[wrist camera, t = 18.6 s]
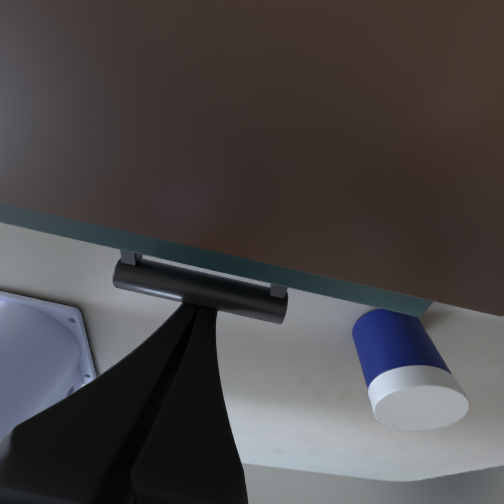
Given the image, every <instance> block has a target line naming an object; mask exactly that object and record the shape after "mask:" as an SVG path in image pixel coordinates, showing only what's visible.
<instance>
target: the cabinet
mask: <svg viewBox="0 0 504 504" xmlns="http://www.w3.org/2000/svg"><path fill="white" fill-rule="evenodd" d="M0 203H3V204H8V205H12V206H16V207H21V208H25V209H30V210H34V211H38V212H43V213H47V214H52V215H56V216H60V217H65V218H69V219H74V220H78V221H82V222H87V223H91V224H96V225H100V226H105V227H109V228H113V229H118V230H122V231H127V232H131V233H135V234H140V235H144V236H149V237H153V238H157V239H162V240H166V241H171V242H175V243H179V244H184V245H188V246H193V247H197V248H201V249H206V250H210V251H215V252H219V253H223V254H228V255H232V256H237V257H241V258H245V259H250V260H254V261H259V262H263V263H267V264H272V265H276V266H281V267H285V268H289V269H294V270H298V271H303V272H307V273H311V274H316V275H320V276H325V277H329V278H333V279H338V280H342V281H347V282H351V283H355V284H360V285H364V286H369V287H373V288H377V289H382V290H386V291H391V292H395V293H399V294H404V295H408V296H413V297H417V298H421V299H426V300H430V301H435V302H439V303H444V304H448V305H452V306H457V307H461V308H466V309H470V310H474V311H479V312H483V313H488V314H492V315H496V316H504V0H0Z"/></svg>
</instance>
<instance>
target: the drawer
mask: <svg viewBox="0 0 504 504" xmlns="http://www.w3.org/2000/svg"><path fill="white" fill-rule="evenodd" d="M0 222H1V223H5V224H10V225H14V226H19V227H23V228H28V229H32V230H36V231H41V232H45V233H50V234H54V235H59V236H63V237H67V238H72V239H76V240H81V241H85V242H90V243H94V244H98V245H103V246H107V247H112V248H116V249H120V252H121V258H120V259H119V261H118V262H117V264H116V266H115V269H114V272H113V285H114V286H115V287H116V288H119V289H124V290H128V291H133V292H137V293H142V294H146V295H151V296H155V297H160V298H164V299H169V300H173V301H178V302H182V303H187V304H191V305H196V306H200V307H205V308H209V309H214V310H218V311H223V312H227V313H232V314H236V315H240V316H245V317H249V318H254V319H258V320H263V321H267V322H272V323H276V324H282V322H283V320H284V318H285V314H286V310H287V305H288V293H287V288H288V287H289V288H293V289H298V290H302V291H307V292H311V293H315V294H320V295H324V296H329V297H333V298H338V299H342V300H346V301H351V302H355V303H360V304H364V305H369V306H373V307H377V308H382V309H386V310H391V311H395V312H400V313H404V314H408V315H413V316H417V317H421V316H422V315H423V314H424V312H425V311H426V310H427V309H428V307H429V306H430V305H431V304H432V303H433V301H430V300H426V299H421V298H417V297H413V296H408V295H404V294H399V293H395V292H391V291H386V290H382V289H377V288H373V287H369V286H364V285H360V284H355V283H351V282H347V281H342V280H338V279H333V278H329V277H325V276H320V275H316V274H311V273H307V272H303V271H298V270H294V269H289V268H285V267H281V266H276V265H272V264H267V263H263V262H259V261H254V260H250V259H245V258H241V257H237V256H232V255H228V254H223V253H219V252H215V251H210V250H206V249H201V248H197V247H193V246H188V245H184V244H179V243H175V242H171V241H166V240H162V239H157V238H153V237H149V236H144V235H140V234H135V233H131V232H127V231H122V230H118V229H113V228H109V227H105V226H100V225H96V224H91V223H87V222H82V221H78V220H74V219H69V218H65V217H60V216H56V215H52V214H47V213H43V212H38V211H34V210H30V209H25V208H21V207H16V206H12V205H8V204H3V203H0ZM142 254H143V255H147V256H152V257H156V258H160V259H165V260H169V261H174V262H178V263H183V264H187V265H191V266H196V267H200V268H205V269H209V270H214V271H218V272H222V273H227V274H231V275H236V276H240V277H245V278H249V279H253V280H258V281H262V282H267V283H271V285H270V287H265V286H261V285H256V284H252V283H248V282H243V281H239V280H234V279H230V278H225V277H221V276H217V275H212V274H208V273H203V272H199V271H194V270H190V269H186V268H181V267H177V266H172V265H168V264H163V263H159V262H155V261H150V260H146V259H142Z"/></svg>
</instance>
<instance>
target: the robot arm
mask: <svg viewBox="0 0 504 504" xmlns="http://www.w3.org/2000/svg"><path fill="white" fill-rule="evenodd" d="M217 312H218V310H214V309H209V308H205V307H200V306H196V305H191V304H187V303H182V304H181V305H180V306H179V308H178V309H177V310H176V311H175V312H174V313H173V314H172V315H171V316H170V317H169V318H168V319H167V320H166V321H165V322H164V323H163V324H162V325H161V326H160V327H159V328H158V329H157V330H156V331H155V332H154V333H153V334H152V335H151V336H149V337H148V338H147V339H146V340H145V341H144V342H143V343H142V344H141V345H139V346H138V347H137V348H136V349H135V350H133V351H132V352H131V353H130V354H128V355H127V356H126V357H124V358H123V359H122V360H121V361H119V362H118V363H117V364H115V365H114V366H112V367H111V368H110V369H108V370H107V371H106V372H104V373H103V374H101V375H100V376H98V377H96V373H95V368H94V364H93V360H92V356H91V352H90V348H89V344H88V340H87V335H86V331H85V327H84V323H83V319H82V315H81V312H80V311H79V310H78V309H77V308H75V307H71V306H66V305H62V304H57V303H53V302H48V301H44V300H39V299H35V298H30V297H26V296H21V295H17V294H12V293H7V292H3V291H0V504H248V497H247V490H246V483H245V476H244V470H243V467H242V464H241V461H240V458H239V454H238V451H237V448H236V444H235V441H234V438H233V434H232V430H231V427H230V423H229V419H228V414H227V410H226V406H225V402H224V397H223V392H222V387H221V381H220V375H219V368H218V360H217V349H216V318H217ZM83 384H86V385H85V386H83V387H81V386H82V385H83Z"/></svg>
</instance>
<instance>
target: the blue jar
mask: <svg viewBox="0 0 504 504" xmlns="http://www.w3.org/2000/svg"><path fill="white" fill-rule="evenodd" d="M352 334H353V339H354V342H355V346H356V349H357V353H358V356H359V360H360V363H361V367H362V370H363V374H364V377H365V381H366V385H367V388H368V395H369V399H370V402H371V406H372V410H373V413H374V415H375V417H376V418H377V419H378V420H379V421H380V422H381V423H383V424H384V425H386V426H389V427H392V428H395V429H399V430H406V431H427V430H434V429H439V428H443V427H446V426H449V425H451V424H454V423H456V422H457V421H459V420H461V419H462V418H463V417H464V416H465V415H466V414H467V412H468V411H469V407H470V404H469V400H468V398H467V397H466V395H465V393H464V392H463V390H462V388H461V387H460V385H459V383H458V382H457V380H456V378H455V377H454V376H453V375H452V374H451V372H450V371H449V369H448V367H447V365H446V364H445V362H444V360H443V359H442V357H441V355H440V354H439V352H438V350H437V349H436V347H435V345H434V344H433V342H432V340H431V339H430V337H429V335H428V334H427V332H426V330H425V329H424V327H423V325H422V324H421V322H420V320H419V319H418V317H417V316H413V315H408V314H404V313H400V312H395V311H391V310H386V309H377V310H374V311H371V312H369V313H367V314H365V315H364V316H362V317H361V318H360V319H359V320H358V321H357V322H356V323H355V325H354V327H353V332H352Z"/></svg>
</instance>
